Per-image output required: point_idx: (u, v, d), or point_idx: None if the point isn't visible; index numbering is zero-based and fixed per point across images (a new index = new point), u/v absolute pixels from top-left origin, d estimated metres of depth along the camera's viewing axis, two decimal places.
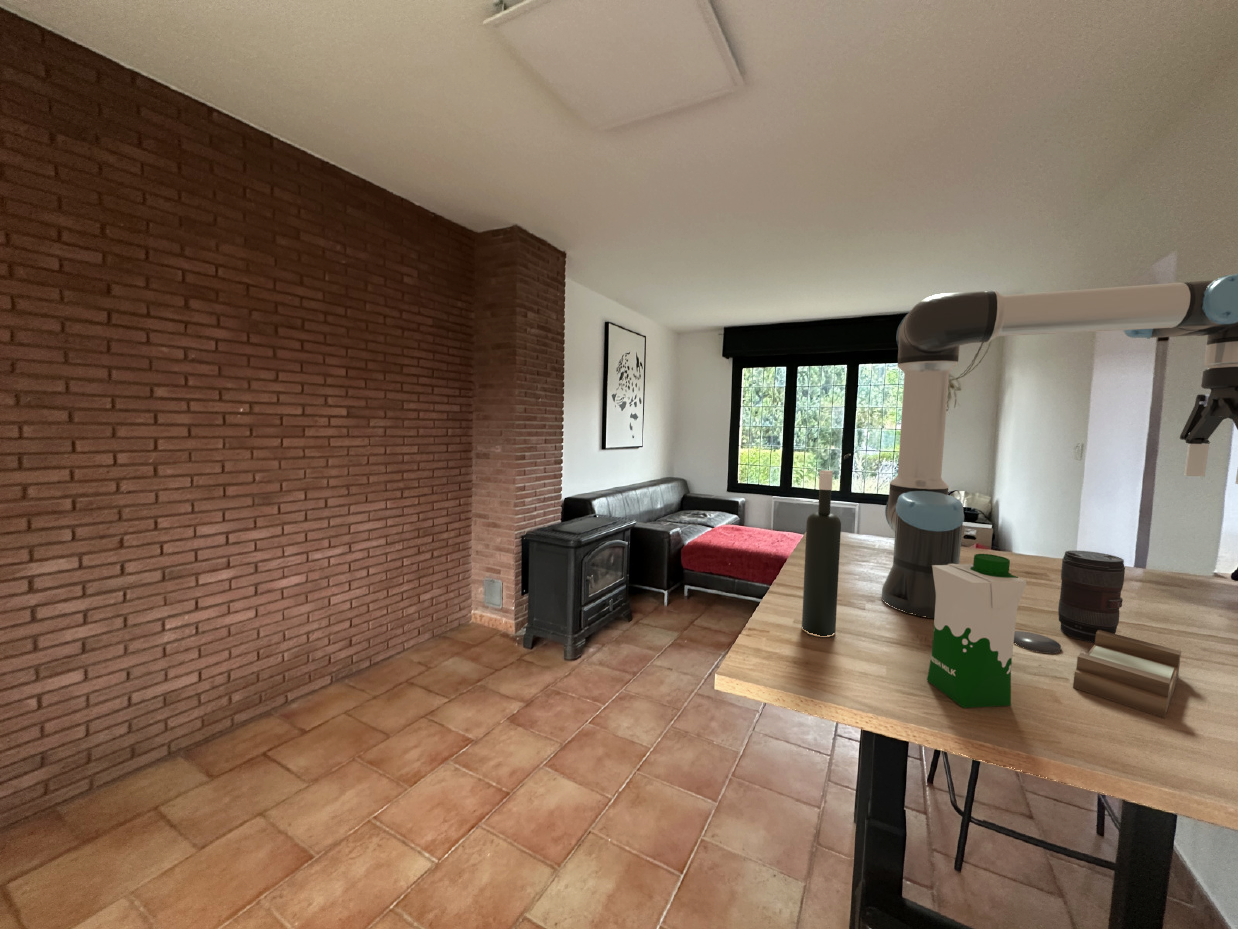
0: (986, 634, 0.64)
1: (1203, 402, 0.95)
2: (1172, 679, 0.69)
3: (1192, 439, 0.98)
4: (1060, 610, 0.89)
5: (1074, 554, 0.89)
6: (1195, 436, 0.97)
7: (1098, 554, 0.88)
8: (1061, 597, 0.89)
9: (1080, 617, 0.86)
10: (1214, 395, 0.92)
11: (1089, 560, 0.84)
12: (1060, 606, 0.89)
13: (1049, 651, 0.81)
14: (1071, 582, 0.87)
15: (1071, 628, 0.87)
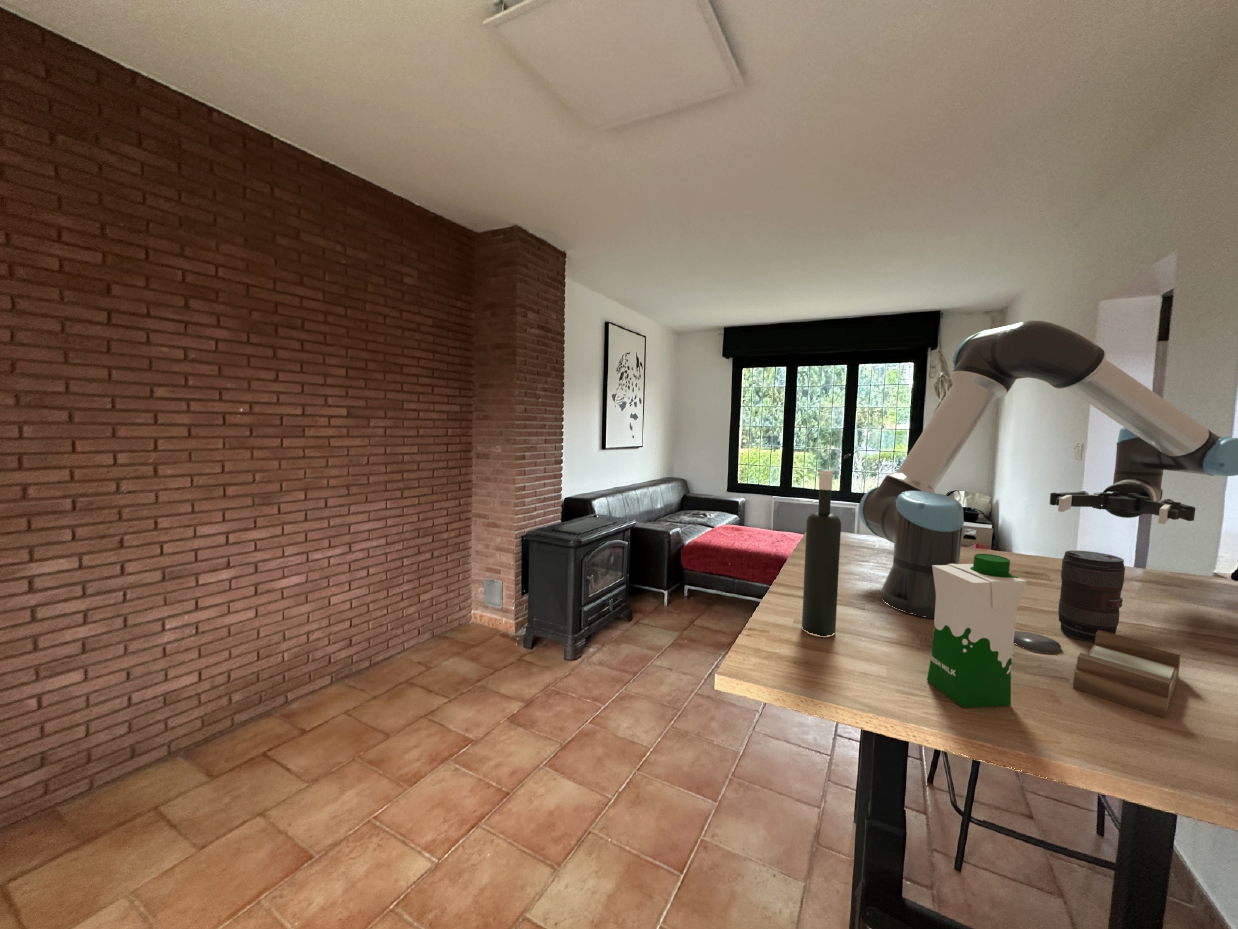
0: (986, 634, 0.64)
1: (1088, 494, 1.05)
2: (1172, 679, 0.69)
3: None
4: (1060, 610, 0.89)
5: (1074, 554, 0.89)
6: (1074, 497, 1.01)
7: (1098, 554, 0.88)
8: (1061, 597, 0.89)
9: (1080, 617, 0.86)
10: None
11: (1089, 560, 0.84)
12: (1060, 606, 0.89)
13: (1049, 651, 0.81)
14: (1071, 582, 0.87)
15: (1071, 628, 0.87)
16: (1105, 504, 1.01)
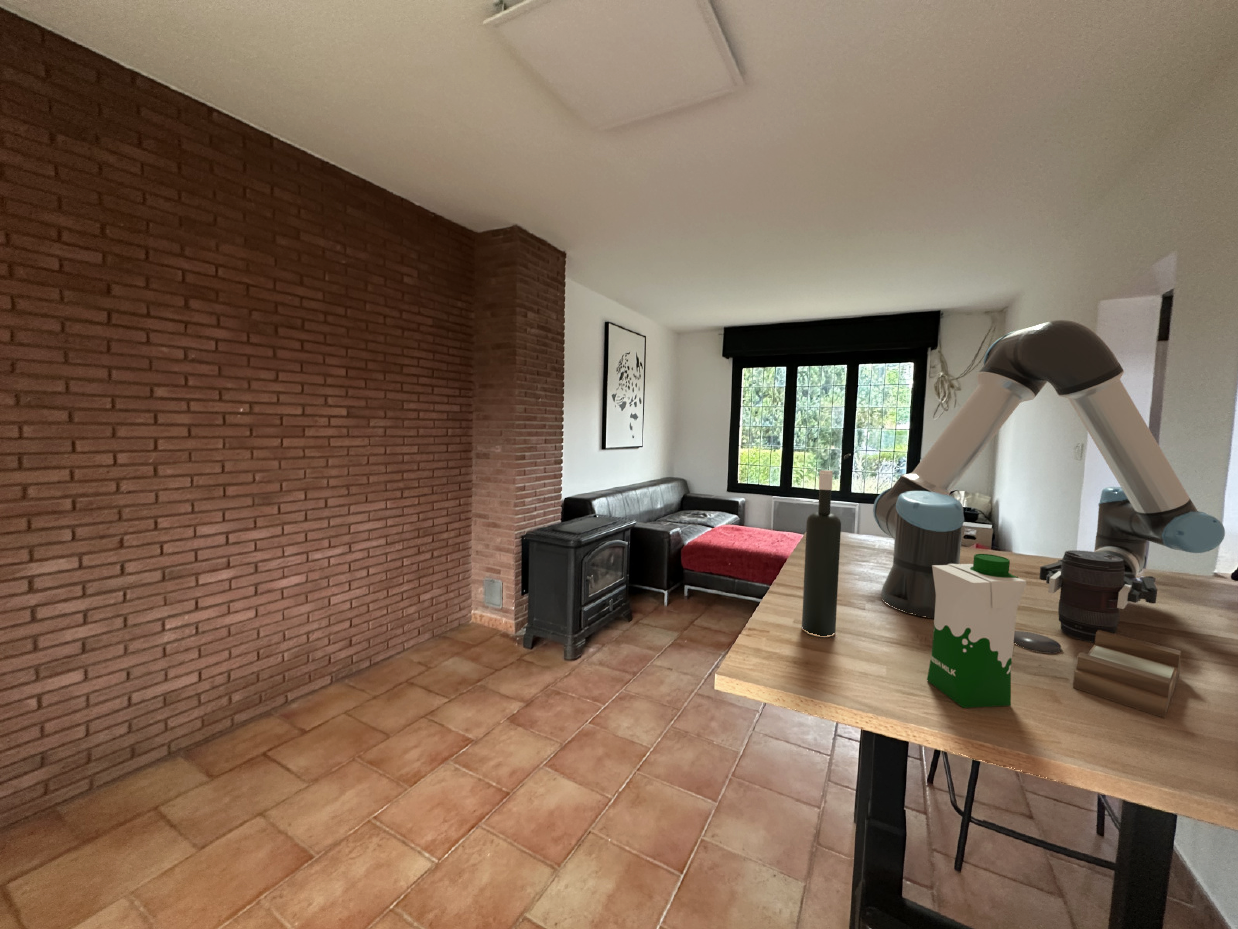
0: (986, 634, 0.64)
1: None
2: (1172, 679, 0.69)
3: None
4: (1060, 610, 0.89)
5: (1074, 554, 0.89)
6: None
7: (1098, 554, 0.88)
8: (1061, 597, 0.89)
9: (1080, 617, 0.86)
10: None
11: (1089, 560, 0.84)
12: (1060, 606, 0.89)
13: (1049, 651, 0.81)
14: (1071, 582, 0.87)
15: (1071, 628, 0.87)
16: None
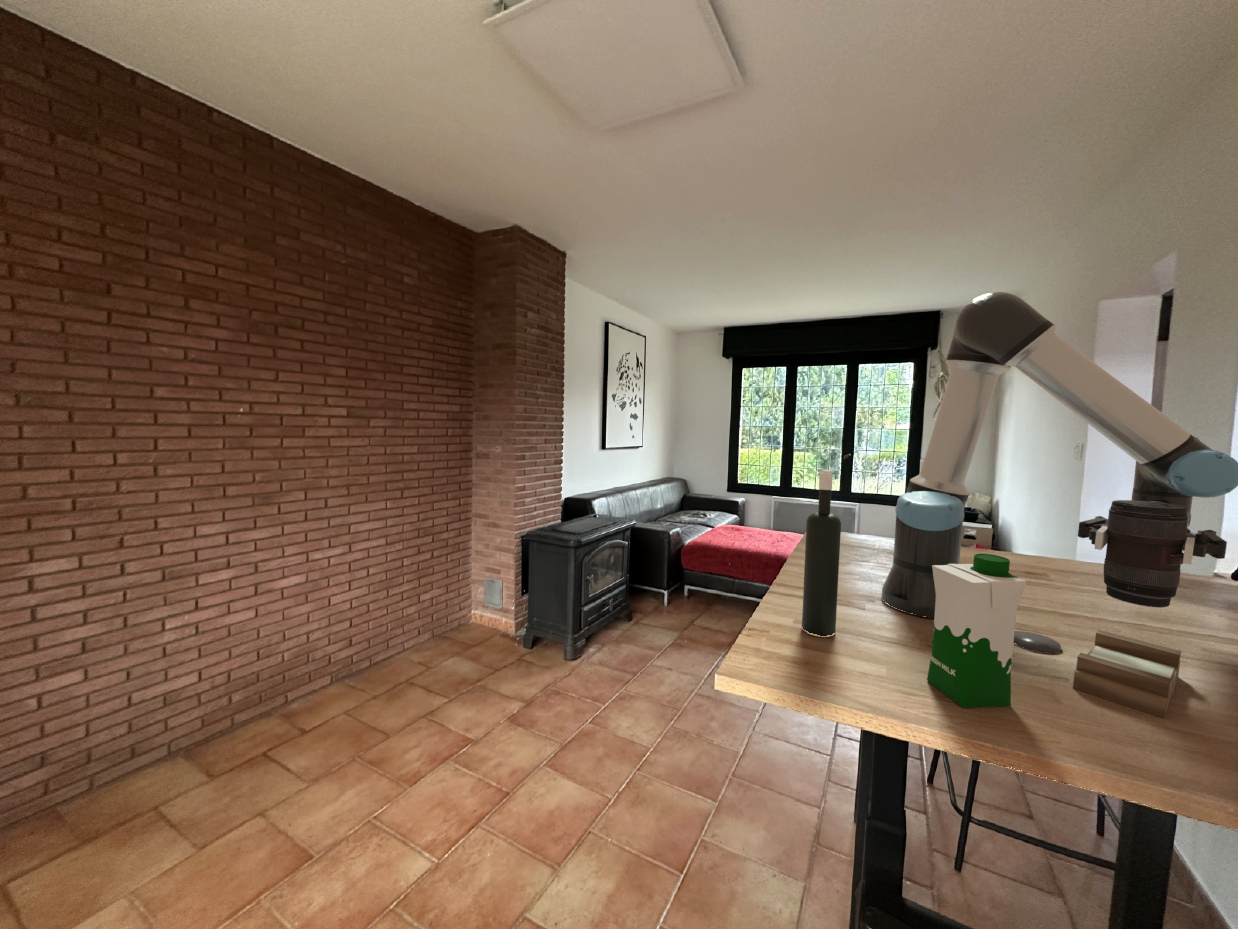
0: (986, 634, 0.64)
1: None
2: (1172, 679, 0.69)
3: None
4: (1107, 570, 0.75)
5: (1123, 503, 0.75)
6: None
7: (1152, 503, 0.74)
8: (1108, 555, 0.75)
9: (1133, 577, 0.72)
10: None
11: (1146, 508, 0.70)
12: (1107, 566, 0.75)
13: (1049, 651, 0.81)
14: (1123, 535, 0.73)
15: (1122, 590, 0.73)
16: None
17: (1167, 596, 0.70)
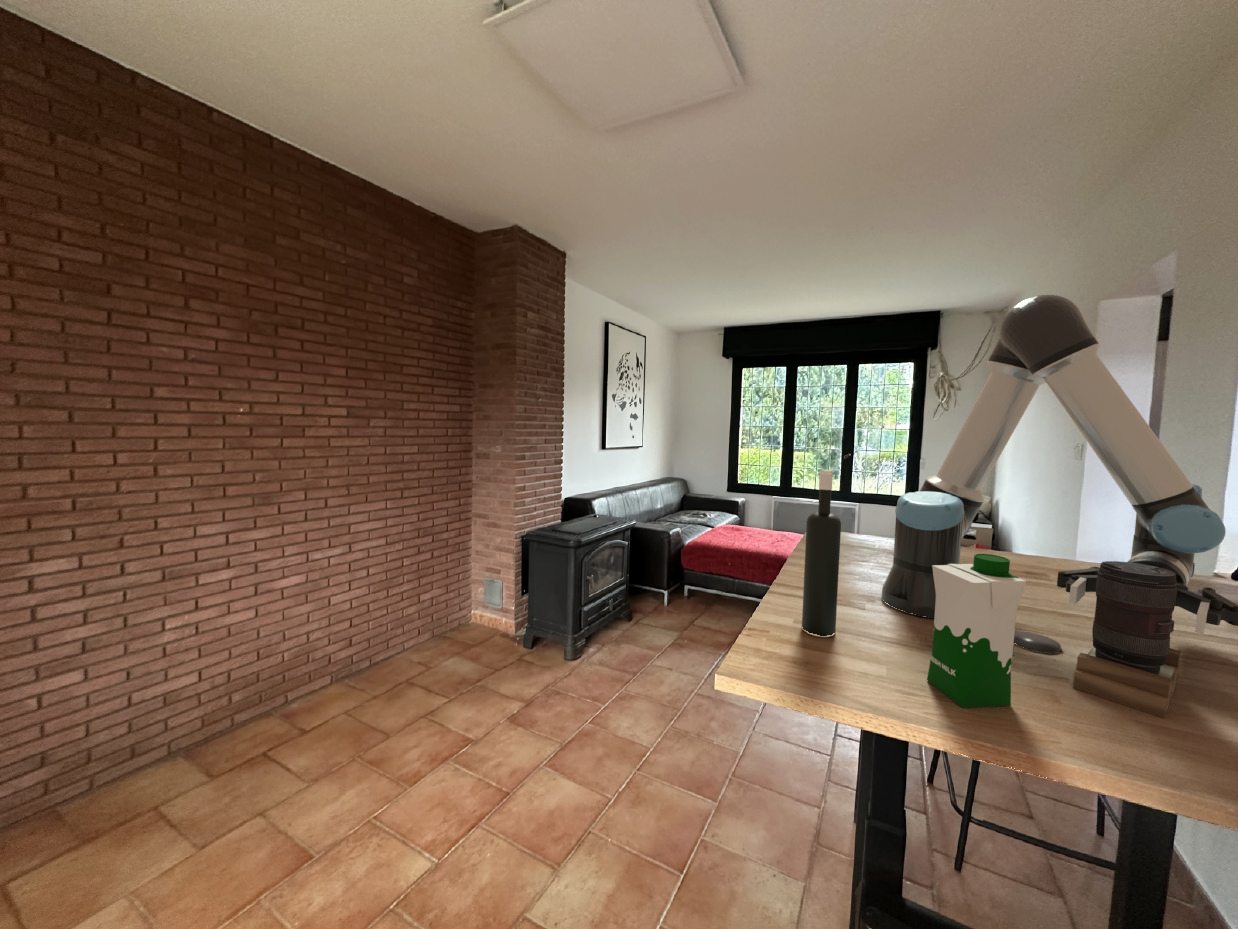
0: (986, 634, 0.64)
1: None
2: (1172, 679, 0.69)
3: None
4: (1095, 634, 0.73)
5: (1112, 566, 0.73)
6: (1089, 579, 0.78)
7: (1142, 566, 0.72)
8: (1096, 618, 0.73)
9: (1121, 644, 0.70)
10: None
11: (1133, 574, 0.69)
12: (1095, 629, 0.74)
13: (1049, 651, 0.81)
14: (1110, 600, 0.71)
15: (1110, 656, 0.71)
16: None
17: (1156, 665, 0.69)
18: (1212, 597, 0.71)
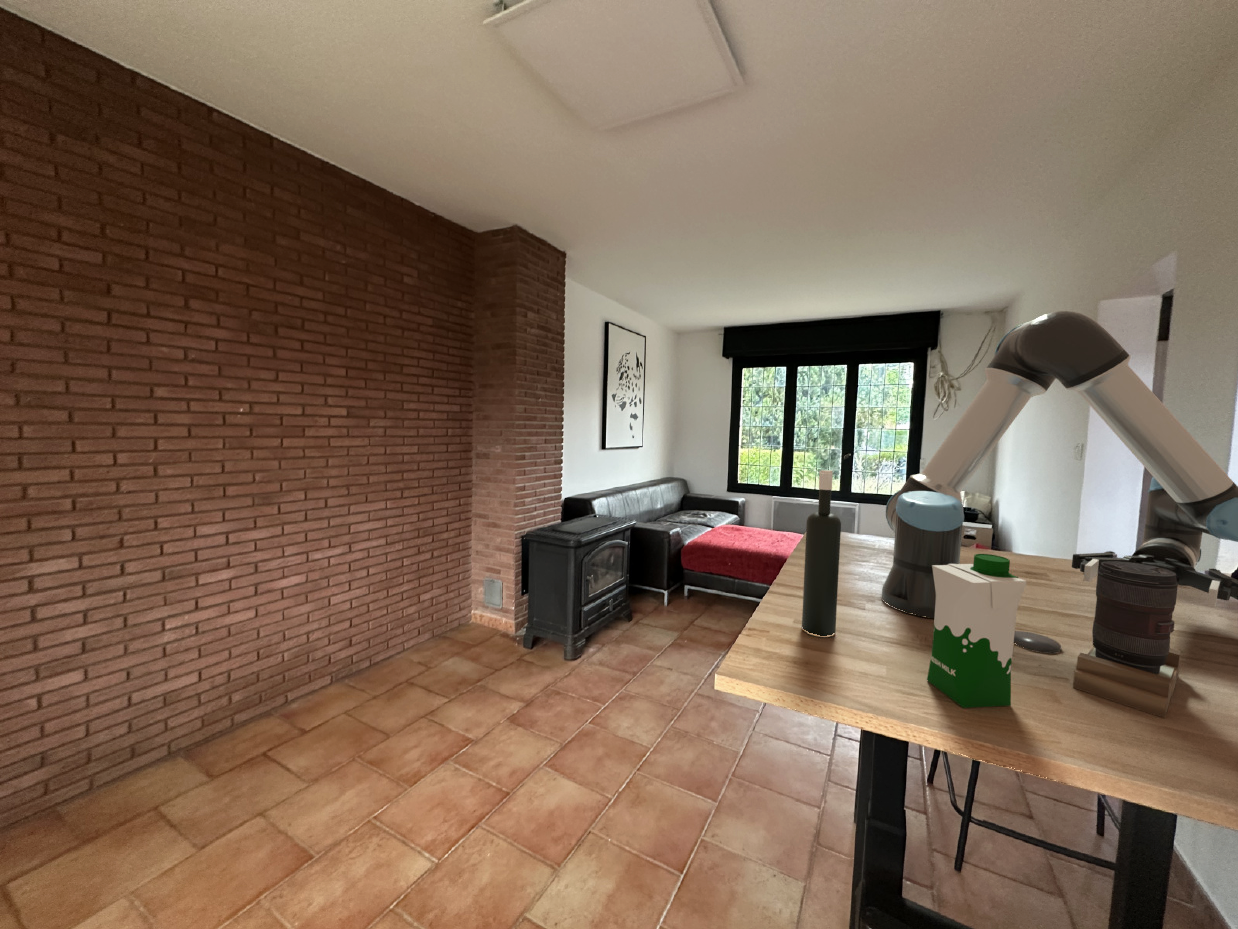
0: (986, 634, 0.64)
1: None
2: (1172, 679, 0.69)
3: None
4: (1095, 634, 0.73)
5: (1112, 566, 0.73)
6: (1101, 561, 0.87)
7: (1142, 566, 0.72)
8: (1096, 618, 0.73)
9: (1121, 644, 0.70)
10: None
11: (1133, 574, 0.69)
12: (1095, 629, 0.74)
13: (1049, 651, 0.81)
14: (1110, 600, 0.71)
15: (1110, 656, 0.71)
16: None
17: (1156, 665, 0.69)
18: (1220, 577, 0.78)
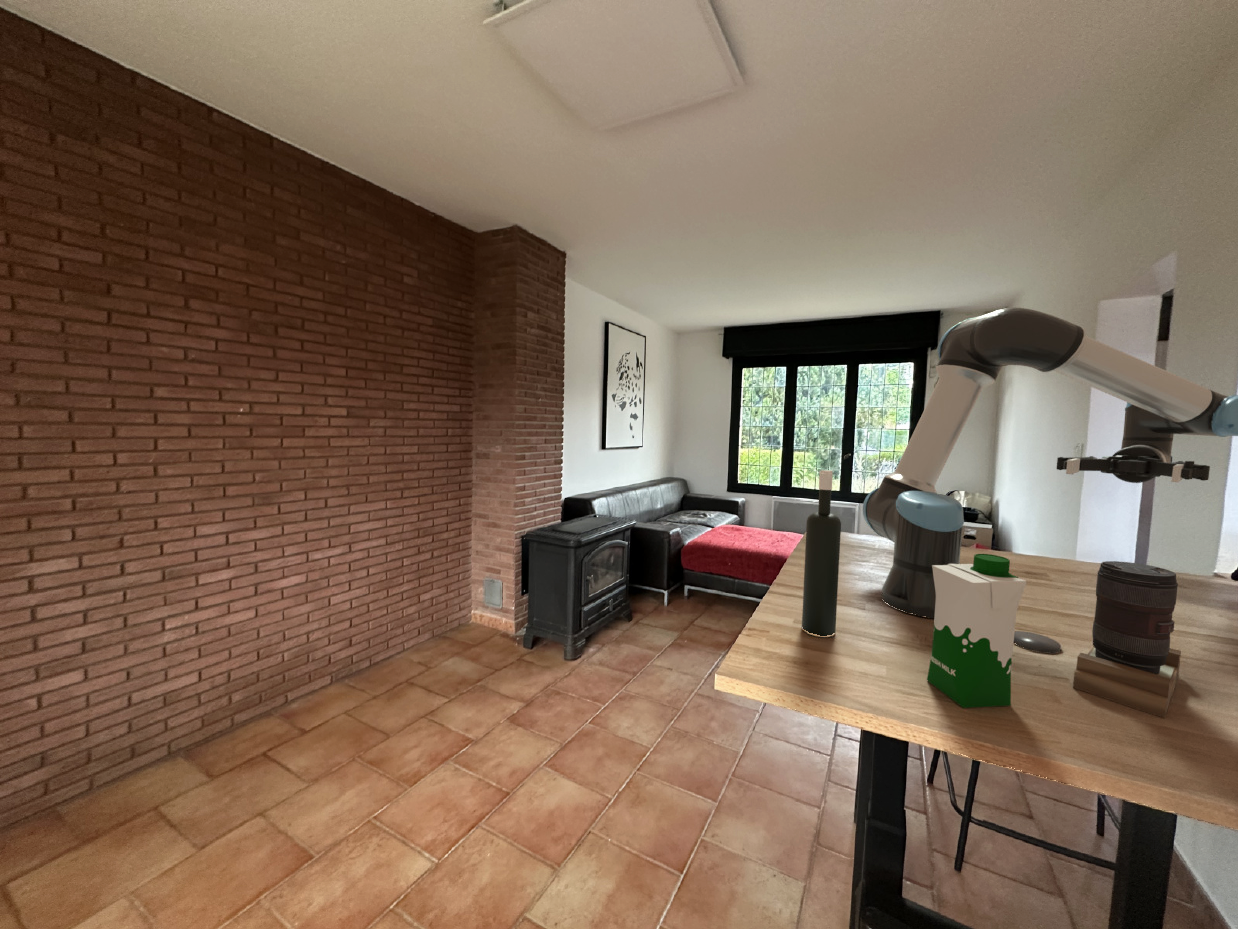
0: (986, 634, 0.64)
1: (1096, 459, 1.01)
2: (1172, 679, 0.69)
3: None
4: (1095, 634, 0.73)
5: (1112, 566, 0.73)
6: (1082, 460, 0.98)
7: (1142, 566, 0.72)
8: (1096, 618, 0.73)
9: (1121, 644, 0.70)
10: None
11: (1133, 574, 0.69)
12: (1095, 629, 0.74)
13: (1048, 651, 0.81)
14: (1110, 600, 0.71)
15: (1110, 656, 0.71)
16: (1114, 468, 0.97)
17: (1156, 665, 0.69)
18: (1184, 464, 0.89)
